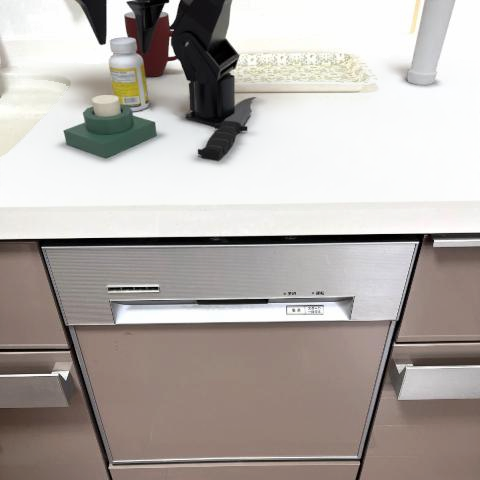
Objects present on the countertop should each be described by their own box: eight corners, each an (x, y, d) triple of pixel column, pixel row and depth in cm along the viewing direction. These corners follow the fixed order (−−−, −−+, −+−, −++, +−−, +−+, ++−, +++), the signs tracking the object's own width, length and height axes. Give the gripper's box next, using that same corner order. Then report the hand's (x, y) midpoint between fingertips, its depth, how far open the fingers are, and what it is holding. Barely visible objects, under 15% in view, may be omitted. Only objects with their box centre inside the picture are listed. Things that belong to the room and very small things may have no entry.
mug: (187, 68, 96) (183, 10, 89) (184, 80, 90) (180, 18, 83) (134, 68, 96) (127, 10, 89) (129, 80, 90) (120, 18, 83)
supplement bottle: (134, 99, 81) (125, 34, 75) (155, 106, 79) (148, 39, 72) (109, 107, 78) (97, 40, 72) (130, 114, 76) (120, 45, 69)
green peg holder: (156, 135, 69) (153, 107, 67) (105, 158, 63) (100, 128, 60) (118, 123, 73) (113, 96, 70) (66, 144, 67) (59, 115, 64)
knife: (237, 90, 81) (266, 92, 80) (237, 100, 82) (265, 102, 81) (193, 147, 62) (230, 151, 62) (194, 159, 63) (230, 163, 63)
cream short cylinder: (126, 113, 66) (124, 98, 64) (107, 120, 64) (104, 105, 62) (108, 108, 67) (106, 93, 66) (89, 115, 65) (86, 99, 64)
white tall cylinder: (405, 83, 89) (445, -92, 72) (406, 76, 93) (444, -93, 76) (434, 86, 88) (481, -92, 71) (434, 78, 92) (478, -92, 75)
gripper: (8, -85, 61) (41, 49, 72) (108, -80, 54) (128, 70, 64) (76, -87, 68) (97, 37, 79) (173, -82, 60) (182, 54, 71)
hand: (123, 48), depth 73 cm, fingers open, 9 cm apart
